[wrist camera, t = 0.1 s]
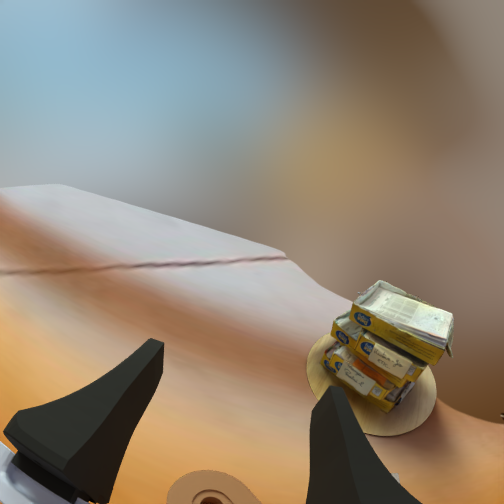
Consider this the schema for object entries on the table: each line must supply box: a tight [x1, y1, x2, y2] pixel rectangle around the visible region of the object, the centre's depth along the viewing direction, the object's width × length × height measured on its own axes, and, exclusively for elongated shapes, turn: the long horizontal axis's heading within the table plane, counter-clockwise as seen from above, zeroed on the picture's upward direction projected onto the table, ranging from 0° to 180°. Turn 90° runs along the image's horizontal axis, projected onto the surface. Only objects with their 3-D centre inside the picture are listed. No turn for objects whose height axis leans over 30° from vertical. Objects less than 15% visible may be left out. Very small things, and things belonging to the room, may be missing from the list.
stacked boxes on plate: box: [307, 280, 454, 436], centre depth 41 cm, size 25×25×17 cm
